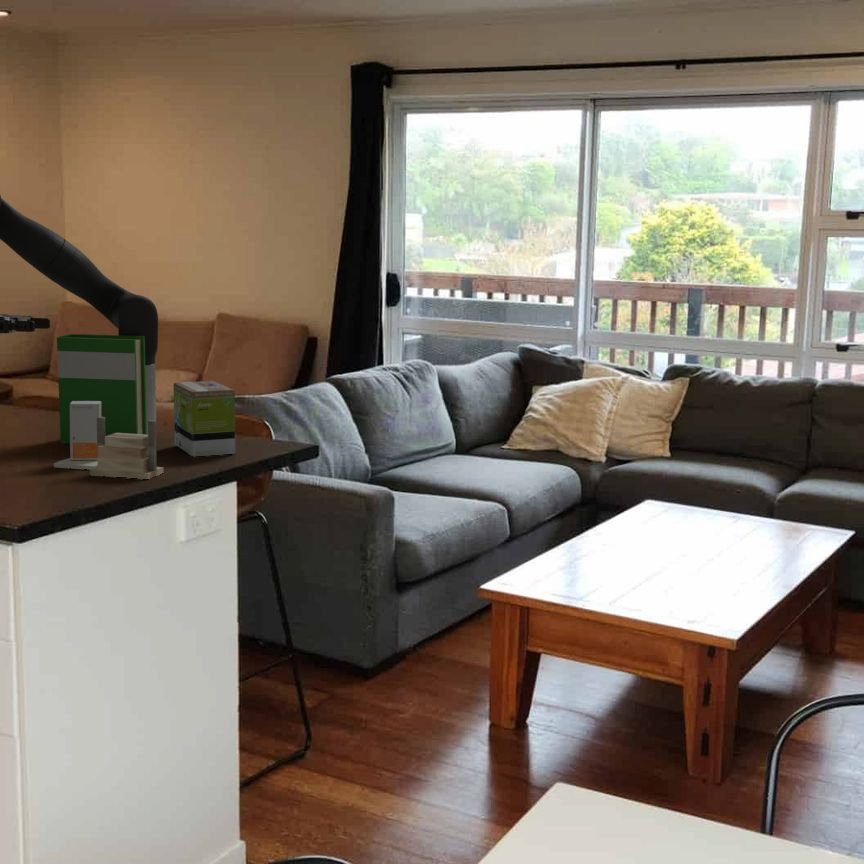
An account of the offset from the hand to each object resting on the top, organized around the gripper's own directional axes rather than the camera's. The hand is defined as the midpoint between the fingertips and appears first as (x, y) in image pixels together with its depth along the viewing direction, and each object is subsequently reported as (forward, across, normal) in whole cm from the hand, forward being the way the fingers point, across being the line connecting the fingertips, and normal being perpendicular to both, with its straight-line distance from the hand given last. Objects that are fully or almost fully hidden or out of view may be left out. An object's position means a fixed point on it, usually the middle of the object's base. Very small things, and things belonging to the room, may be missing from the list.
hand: (42, 325), depth 253 cm
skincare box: (+11, -5, +27) cm, 30 cm away
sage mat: (+11, -5, +28) cm, 31 cm away
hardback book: (+6, +20, +28) cm, 35 cm away
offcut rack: (+22, -15, +28) cm, 39 cm away
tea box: (+31, +14, +28) cm, 44 cm away
